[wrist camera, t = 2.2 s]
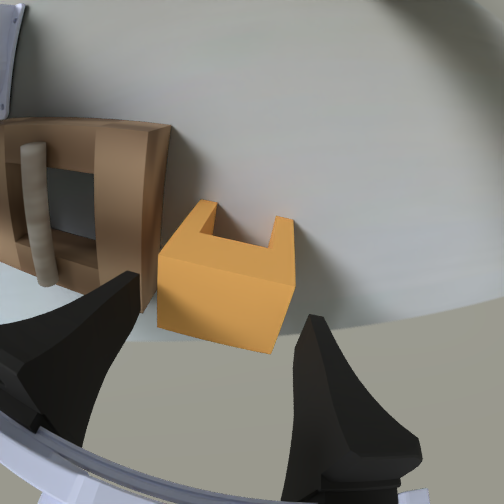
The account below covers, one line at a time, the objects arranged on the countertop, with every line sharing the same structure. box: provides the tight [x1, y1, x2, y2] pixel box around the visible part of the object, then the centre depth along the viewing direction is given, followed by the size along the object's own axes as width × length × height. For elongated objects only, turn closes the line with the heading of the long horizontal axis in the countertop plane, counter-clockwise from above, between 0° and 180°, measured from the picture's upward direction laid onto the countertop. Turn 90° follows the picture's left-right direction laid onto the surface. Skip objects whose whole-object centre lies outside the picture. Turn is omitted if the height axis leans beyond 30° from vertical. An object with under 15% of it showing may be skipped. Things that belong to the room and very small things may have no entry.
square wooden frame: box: [0, 117, 171, 314], centre depth 16 cm, size 11×14×5 cm
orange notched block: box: [157, 199, 296, 354], centre depth 15 cm, size 4×5×6 cm
